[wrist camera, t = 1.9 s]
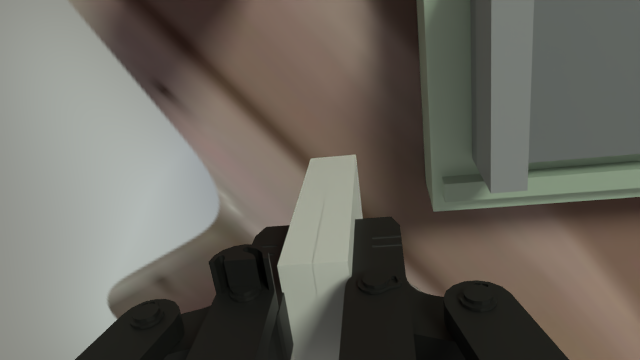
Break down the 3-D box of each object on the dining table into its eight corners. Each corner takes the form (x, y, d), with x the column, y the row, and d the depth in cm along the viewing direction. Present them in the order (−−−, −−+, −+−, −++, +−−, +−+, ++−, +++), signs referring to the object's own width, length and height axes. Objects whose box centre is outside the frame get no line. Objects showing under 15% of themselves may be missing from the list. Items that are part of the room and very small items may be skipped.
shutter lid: (469, -61, 21) (491, -66, 18) (726, -97, 20) (811, -112, 16) (472, 158, 25) (490, 193, 21) (688, 139, 24) (749, 173, 20)
